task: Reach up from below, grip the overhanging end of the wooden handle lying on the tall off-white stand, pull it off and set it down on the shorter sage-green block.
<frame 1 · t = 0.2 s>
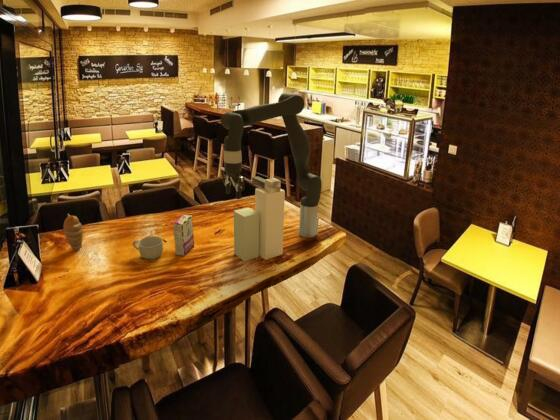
hand: (233, 196, 171), 30 cm above the table, tool pointing down, fingers open, 8 cm apart
low block: (246, 255, 182), on the table
teacup: (149, 256, 179), on the table
handle: (263, 186, 177), point 32 cm above the table, touching tall stand
tall stand: (268, 253, 184), on the table
candy bar box: (184, 250, 185), on the table
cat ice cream: (77, 250, 182), on the table
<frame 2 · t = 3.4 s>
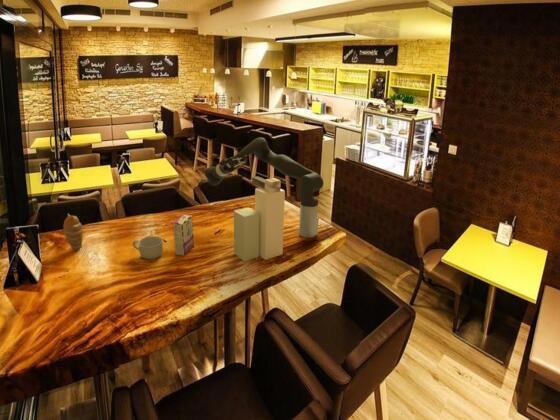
hand: (239, 158, 190), 41 cm above the table, tool pointing upward, fingers open, 8 cm apart
nothing on the table moved.
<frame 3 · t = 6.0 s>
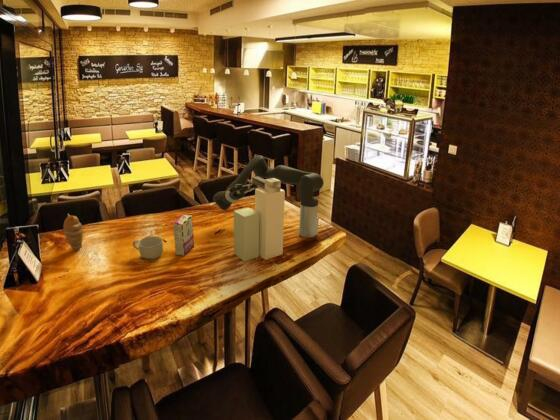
hand: (249, 185, 186), 30 cm above the table, tool pointing upward, fingers open, 8 cm apart
nothing on the table moved.
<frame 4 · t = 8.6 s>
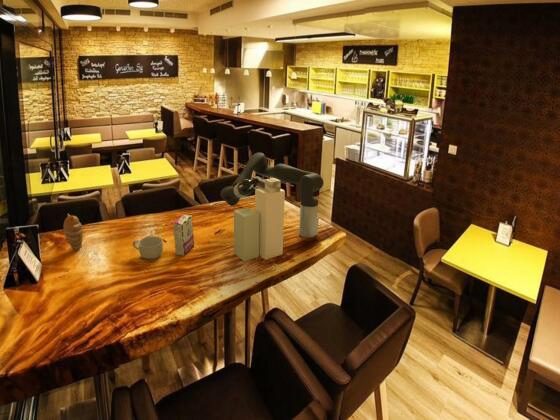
hand: (260, 179, 178), 35 cm above the table, tool pointing upward, fingers closed on handle, 3 cm apart
handle: (263, 186, 177), point 32 cm above the table, touching gripper, tall stand
everything else where it was.
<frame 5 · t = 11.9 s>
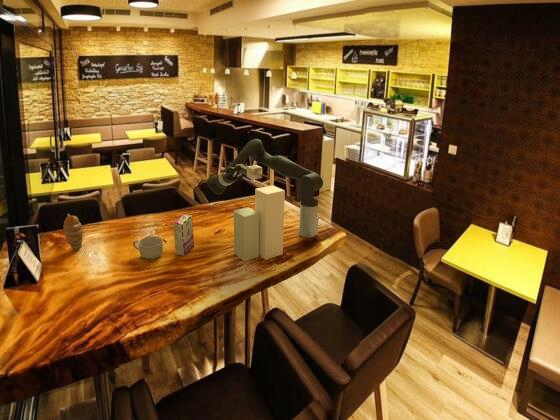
hand: (243, 166, 179), 40 cm above the table, tool pointing upward, fingers closed on handle, 3 cm apart
handle: (245, 173, 179), point 37 cm above the table, touching gripper
everything else where it was.
when the fingers open (27 cm above the table, at t = 15.3 s): handle drops 2 cm, resting on low block.
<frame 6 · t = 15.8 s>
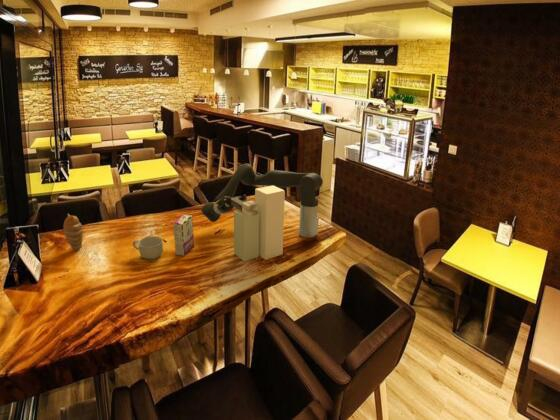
hand: (238, 198, 178), 27 cm above the table, tool pointing upward, fingers open, 7 cm apart
handle: (241, 208, 178), point 22 cm above the table, touching low block
everything else where it was.
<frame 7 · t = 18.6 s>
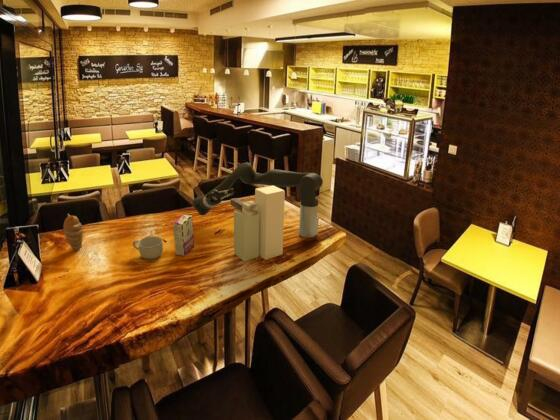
hand: (225, 191, 187), 26 cm above the table, tool pointing upward, fingers open, 8 cm apart
nothing on the table moved.
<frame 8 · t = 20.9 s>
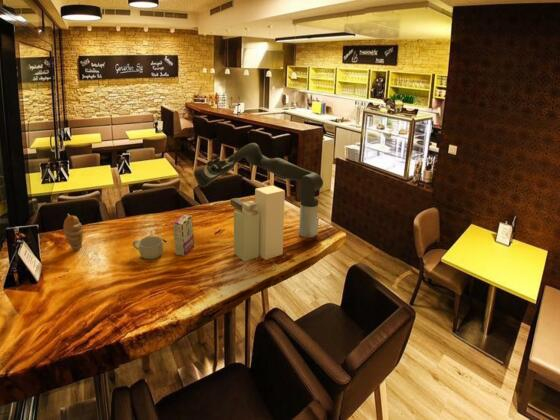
hand: (226, 158, 188), 41 cm above the table, tool pointing upward, fingers open, 8 cm apart
nothing on the table moved.
at the end: handle inside the target area (0.7 cm from its centre), point 22.0 cm above the table; handle touching low block; the gripper is holding nothing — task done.
